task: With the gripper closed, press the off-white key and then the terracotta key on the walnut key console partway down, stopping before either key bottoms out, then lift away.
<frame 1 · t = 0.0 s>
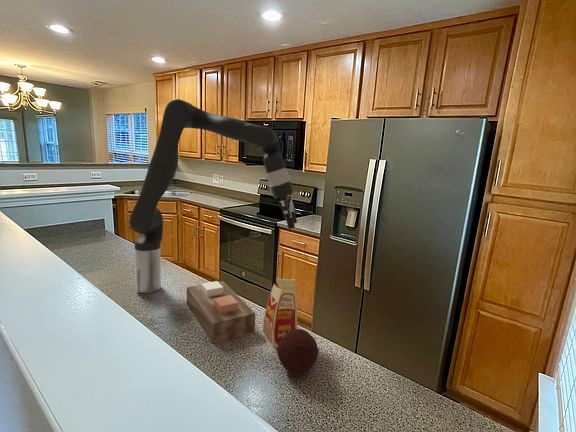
hand: (293, 225, 114), 31 cm above the counter, tool tilted 20°, fingers open, 8 cm apart
terracotta key: (225, 306, 102), point 7 cm above the counter, slide at 0.0 cm
key console: (218, 316, 108), on the counter
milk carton: (280, 337, 99), on the counter
off-white key: (212, 290, 112), point 7 cm above the counter, slide at 0.0 cm
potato: (296, 369, 85), on the counter
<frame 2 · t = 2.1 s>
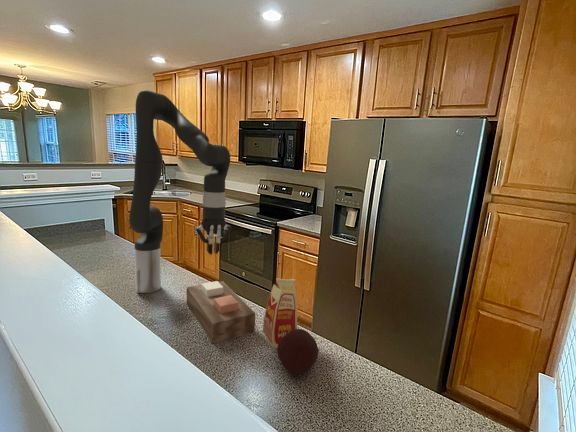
hand: (213, 253, 110), 21 cm above the counter, tool pointing down, fingers closed
nothing on the counter moved.
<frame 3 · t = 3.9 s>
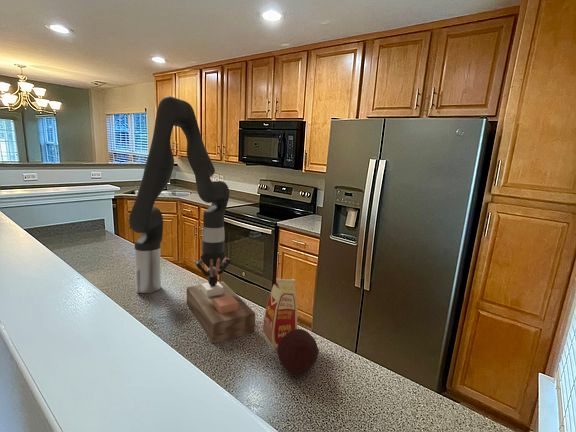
hand: (212, 285, 112), 9 cm above the counter, tool pointing down, fingers closed
off-white key: (212, 290, 112), point 7 cm above the counter, slide at 0.0 cm, touching gripper
everything else where it was.
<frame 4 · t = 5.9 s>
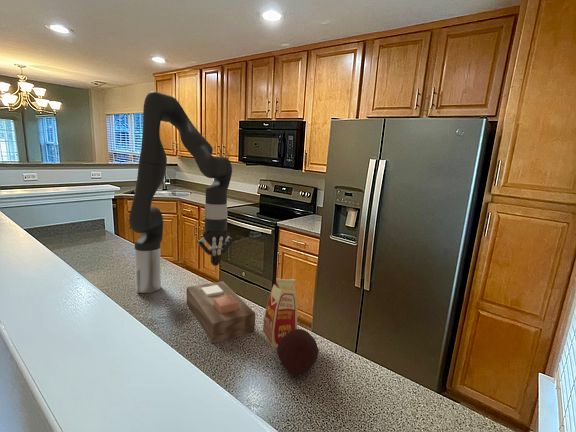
hand: (215, 264, 109), 17 cm above the counter, tool pointing down, fingers closed
off-white key: (212, 294, 113), point 5 cm above the counter, slide at 1.6 cm
everything else where it was.
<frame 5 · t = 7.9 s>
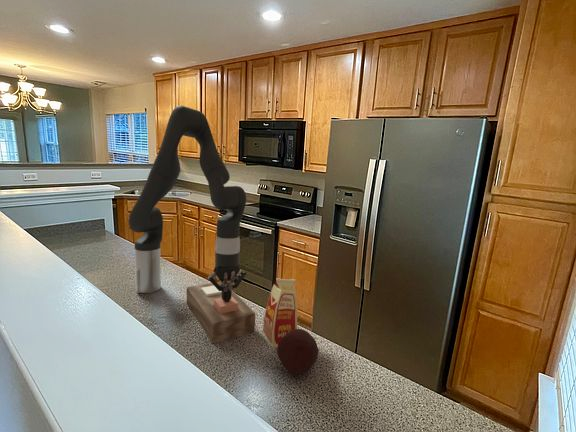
hand: (226, 300, 102), 9 cm above the counter, tool pointing down, fingers closed
terracotta key: (225, 306, 102), point 7 cm above the counter, slide at 0.2 cm, touching gripper
everything else where it was.
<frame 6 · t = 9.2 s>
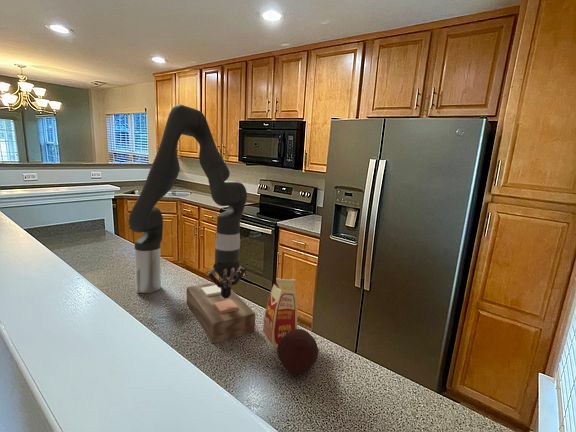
hand: (225, 297, 101), 10 cm above the counter, tool pointing down, fingers closed
terracotta key: (225, 310, 102), point 5 cm above the counter, slide at 1.5 cm
everything else where it was.
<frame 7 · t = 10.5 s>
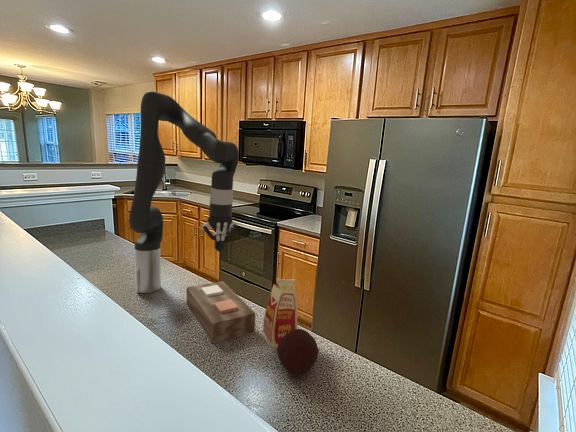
hand: (218, 250, 109), 22 cm above the counter, tool pointing down, fingers closed
nothing on the counter moved.
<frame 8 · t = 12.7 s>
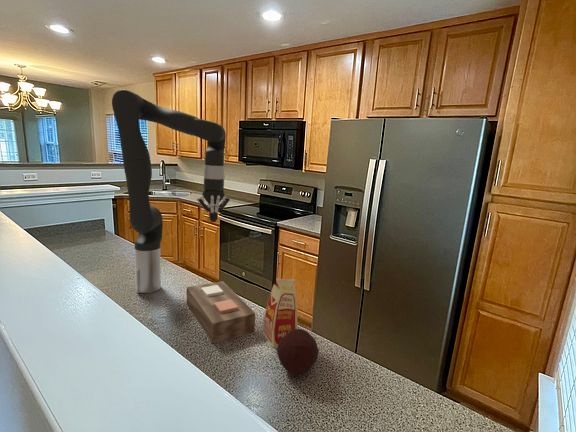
hand: (213, 221, 123), 29 cm above the counter, tool pointing down, fingers closed
nothing on the counter moved.
at the end: off-white key slide at 1.6 cm; terracotta key slide at 1.5 cm; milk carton moved 0.2 cm from its start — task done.
